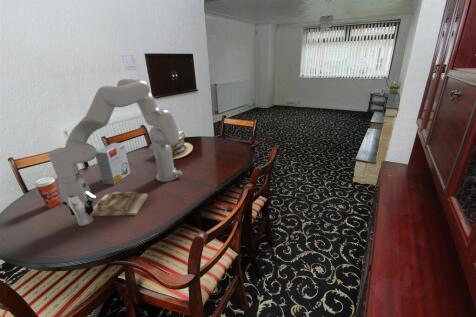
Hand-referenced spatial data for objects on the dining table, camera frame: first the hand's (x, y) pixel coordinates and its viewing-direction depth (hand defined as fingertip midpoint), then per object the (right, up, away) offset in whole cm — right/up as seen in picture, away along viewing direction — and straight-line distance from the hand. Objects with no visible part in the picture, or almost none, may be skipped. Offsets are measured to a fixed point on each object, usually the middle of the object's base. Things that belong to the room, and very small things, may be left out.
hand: (82, 212), depth 104 cm
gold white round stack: (+22, +28, +73) cm, 81 cm away
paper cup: (-24, +1, +15) cm, 28 cm away
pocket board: (+10, +1, +13) cm, 16 cm away
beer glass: (0, -4, +2) cm, 5 cm away
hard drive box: (-4, +12, +38) cm, 40 cm away
